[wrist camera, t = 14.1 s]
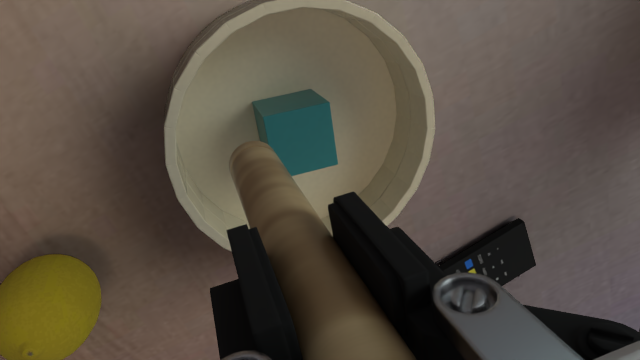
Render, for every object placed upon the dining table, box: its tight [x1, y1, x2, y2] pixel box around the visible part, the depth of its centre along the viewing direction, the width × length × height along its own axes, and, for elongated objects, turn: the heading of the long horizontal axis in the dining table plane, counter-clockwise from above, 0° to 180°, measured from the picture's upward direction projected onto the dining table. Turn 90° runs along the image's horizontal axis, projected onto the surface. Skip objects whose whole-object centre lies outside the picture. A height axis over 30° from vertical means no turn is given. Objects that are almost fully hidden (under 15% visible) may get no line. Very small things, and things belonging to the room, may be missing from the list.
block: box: [252, 89, 338, 176], centre depth 29 cm, size 4×4×4 cm
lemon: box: [0, 254, 101, 360], centre depth 27 cm, size 6×6×8 cm
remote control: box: [438, 218, 536, 286], centre depth 40 cm, size 5×24×1 cm, turn 115°
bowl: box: [164, 0, 435, 252], centre depth 29 cm, size 16×16×5 cm
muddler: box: [229, 141, 417, 360], centre depth 13 cm, size 2×2×13 cm
